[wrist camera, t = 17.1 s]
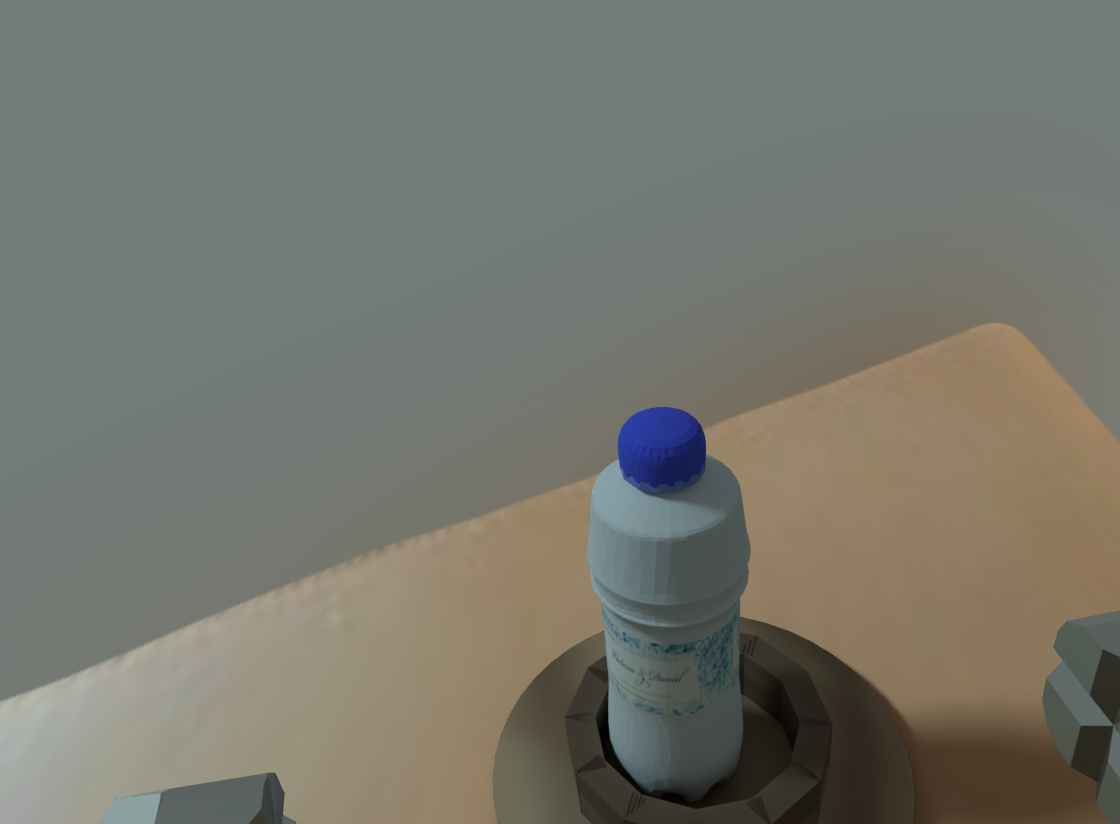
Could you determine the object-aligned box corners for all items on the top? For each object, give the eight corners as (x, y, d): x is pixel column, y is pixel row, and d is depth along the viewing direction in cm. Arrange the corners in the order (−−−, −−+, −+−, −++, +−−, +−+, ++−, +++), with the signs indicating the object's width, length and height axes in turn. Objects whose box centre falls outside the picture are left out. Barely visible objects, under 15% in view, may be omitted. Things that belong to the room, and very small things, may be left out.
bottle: (582, 782, 49) (539, 443, 38) (649, 687, 53) (629, 359, 42) (709, 845, 45) (703, 493, 34) (769, 737, 50) (781, 395, 39)
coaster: (520, 1028, 40) (508, 976, 38) (479, 660, 57) (468, 609, 55) (996, 928, 42) (1010, 872, 40) (820, 598, 59) (823, 546, 56)
